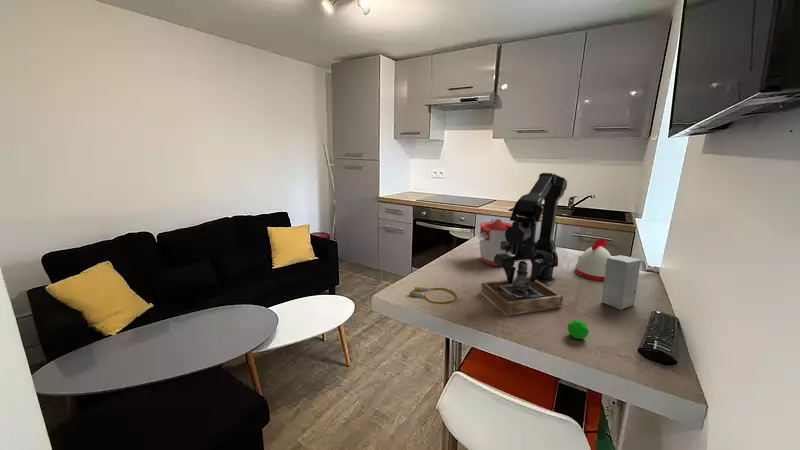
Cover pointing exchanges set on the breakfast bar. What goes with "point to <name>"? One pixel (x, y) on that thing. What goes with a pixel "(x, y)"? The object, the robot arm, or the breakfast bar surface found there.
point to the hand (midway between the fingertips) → (521, 282)
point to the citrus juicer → (492, 240)
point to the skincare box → (620, 281)
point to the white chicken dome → (593, 261)
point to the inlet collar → (508, 295)
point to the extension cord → (420, 289)
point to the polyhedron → (577, 329)
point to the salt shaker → (521, 280)
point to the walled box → (522, 306)
